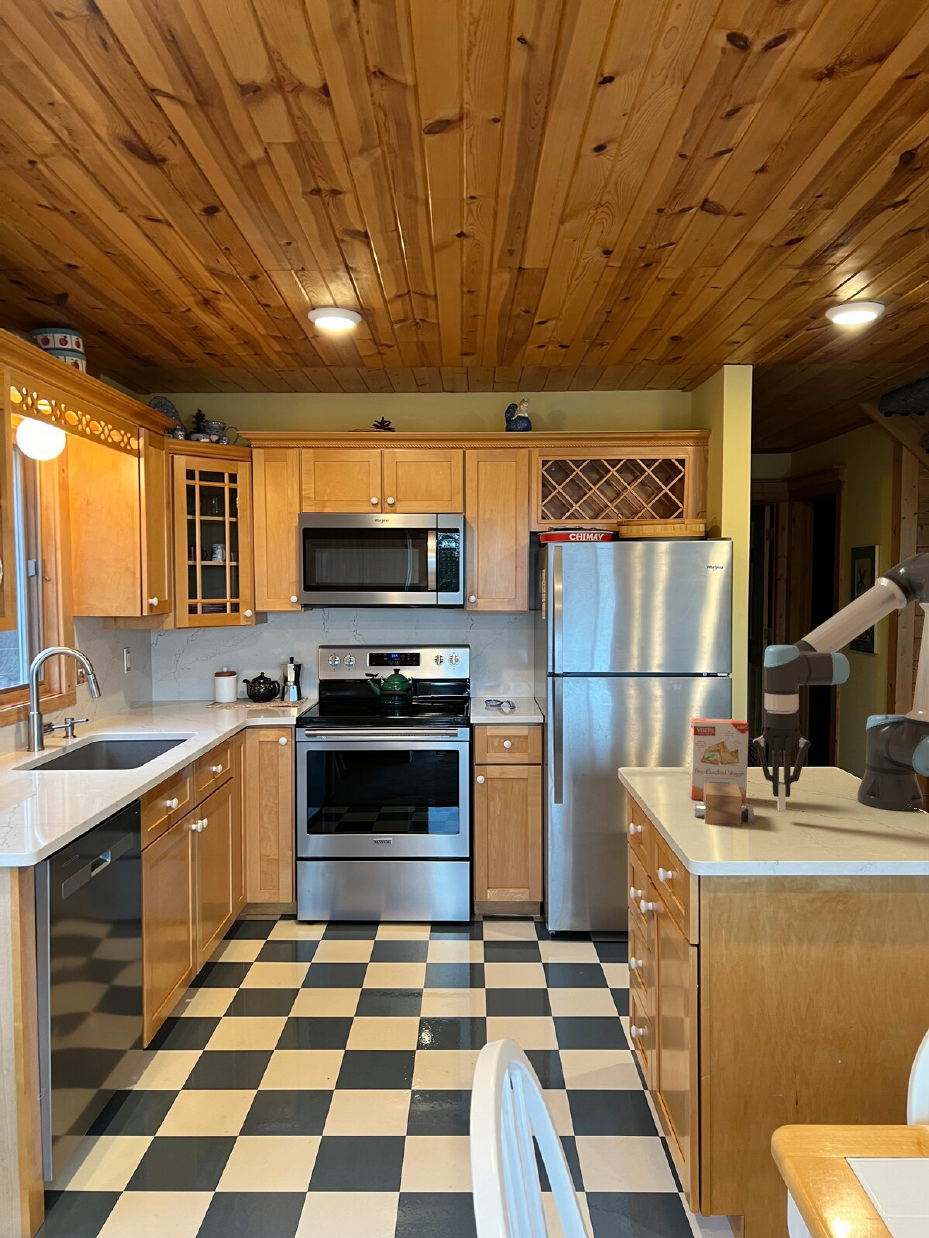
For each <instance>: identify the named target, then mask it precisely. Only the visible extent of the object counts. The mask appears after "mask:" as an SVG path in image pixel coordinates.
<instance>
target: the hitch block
mask: <svg viewBox="0 0 929 1238" xmlns="http://www.w3.org/2000/svg"><path fill="white" fill-rule="evenodd" d="M742 803H743V802H742V796H741V793H740V790H739V787H738V785H735V784H719V783H704V800H703V804H702V805H705V818H704V824H706V825H716V826H717V825H718V826H733V827H742V820H741V807H742Z"/></svg>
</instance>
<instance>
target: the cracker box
mask: <svg viewBox="0 0 929 1238" xmlns="http://www.w3.org/2000/svg"><path fill="white" fill-rule="evenodd" d="M749 724H750V723H748V722H747V721H746V720H745V719H731V718H730V719H729V718H728V719H727V718H707V717H706V718H703V717H702V718H699V717H690V733H689V734H690V735H689V737H690V739H689V740H690V741H689V742H690V743H689V771H688V772H689V774H688V780H689V781H688V795H689V798H690V799H691V800H693V801H697V800H698V801H704V783H719V784H735V785H738V787H739V790H740V793H741V796H742V803H746V802H747V789H748V788H747V786H748V785H747V784H748V761H749V759H748V756H749V755H748V754H749V753H748V752H749V731H750V730H749Z"/></svg>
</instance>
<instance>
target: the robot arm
mask: <svg viewBox="0 0 929 1238" xmlns="http://www.w3.org/2000/svg"><path fill="white" fill-rule="evenodd" d="M874 582H875V583H874V586H873V587H871V588H869V590H867V591H866V592H864V593H863V594H862V595H860V596H858V597H857V598H856V599H855V600H853V601H851V602H850V603H849V604H848V605H847V606H845V607H844V608H842V609H841V610H840V611H838V612H837V613H836V614H834V615H833V616H831V617H830V618H829V619H827V620H825V621H824V622H823V623H822V624H820V625H819V626H818V627H817V628H815V629H813V630H812V631H811V632H809V633H808V634H807V635H805V636H804V637H803V638H801V639H800V640H798V641H797V642H795V643H793V645H789V644H775V645H768V646H767V647H766V648H765V651H764V658H763V659H764V661H763V667H764V709H765V710H766V711H765V712H764V728H763V729H764V730H763V731H762V733H761V736H759V737H758V738H757V737H756V738H753V739H752V742H753V743H752V744H753V745H754V746H755V748H756V749H757V754H758V757H759V759H760V761H759V762H760V765H761V768H762V771H763V776H764V778H765V781H769V782H771V783H772V794H773V797H777V800H776V801H777V802H776V803H777V804H776V805H777V810H778V812H779V813H780V812H781V813H782V812H783V813H786V799H787V798H790V797H791V784H792V783H795V782H799V779H800V776H801V773H802V769H803V765H804V761H805V758H806V753H807V751H808V750H809V749H810V747H811V745H812V744H811V742H810V740H808V739H805V738H803V737H802V735H801V733H800V730H799V713H798V710H799V707H800V705H799V702H800V700H799V692H800V691H799V690H800V689H799V687H800V686H818V685H819V686H820V685H823V686H824V685H827V686H828V685H829V686H833V685H840V684H844V683H846V681H847V680H848V678H849V676H850V672H851V671H850V662H849V660H848V658H847V656H846V655H845V654H843V653H842V652H838V651H840V650H841V649H843V647H845V646H846V645H847V644H849V643H850V642H852V641H853V640H855V638H857V637H858V636H860V635H861V634H863V633H864V632H865V631H866V630H868V629H869V628H871V627H873V626H874V625H875V624H877V623H878V622H879V621H881V620H882V619H883V618H885V617H886V616H887V615H889V614H890V613H891V612H893V611H895V610H896V609H899V610H902V609H904V608H906V607H907V606H909V605H910V604H912V603H914V602H917V601H919V602H918V605H919V606H920V608H921V609H922V610H923V611H924V619H923V620H924V621H923V627H922V635H921V643H920V650H919V657H918V658H919V659H918V667H917V672H916V679H915V688H914V689H915V690H914V696H913V702H912V703H913V705H912V709H911V711H908V712H907V713H906V714H872V715H870V716H868V717H867V720H866V728H865V731H866V733H865V734H866V739H865V740H866V741H865V742H866V743H865V744H866V745H865V772H864V775H863V777H862V779H861V782H860V784H859V787H858V790H857V801H858V802H860V803H861V804H862V805H866V806H868V807H873V808H879V809H883V810H890V811H891V810H893V811H917V810H916V809H914V808H917V809H918V810H921V809H923V808H924V796H923V794H922V793H923V792H922V790H921V788H920V785H919V784H920V783H919V781H918V778H917V777H918V776H917V774H919V775H921V776H923V777H929V551H927V552H920V553H917V554H913V555H912V556H909V557H907V558H906V559H904V560H903V561H901V562H899V563H898V564H896V565H895V566H892V568H890V569H889V570H887V571H886V572H885V573H884V574H882V575H881V576H879V577H878V578H876V579H875V581H874ZM765 742H766V743H767V744H768V746H769V747H770V749H771V753H772V758H771V759H772V761H771V762H772V764H771V765H772V767H771V768H772V769H771V770H772V772H771V773H772V774H770V770H769V765H768V762H767V758H766V754H765V751H764V750H765V749H764V748H763V747H764V746H765ZM797 744H798V747H799V749H798V752H797V756H796V759H795V764H794V767H793V771H792V770H791V769H792V768H791V767H792V766H791V762H792V760H791V759H792V758H791V755H792V754H791V753H792V750H793V749H794V748H795V746H796V745H797ZM781 751H783V780H784V781H780V752H781ZM791 771H792V774H791ZM910 806H911V807H910Z"/></svg>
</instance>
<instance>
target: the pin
mask: <svg viewBox="0 0 929 1238" xmlns="http://www.w3.org/2000/svg"><path fill="white" fill-rule="evenodd" d="M754 813H755V811H754V808H753V806H752V804H745V806H744V807H743V806H741V821H747V823H748V824H749V825H751V824H752V825H754V821H755V819H754V818H755V817H754ZM694 817H695V818H704V819H705V805H703V804H698V803H697V804H695V803H694Z"/></svg>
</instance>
